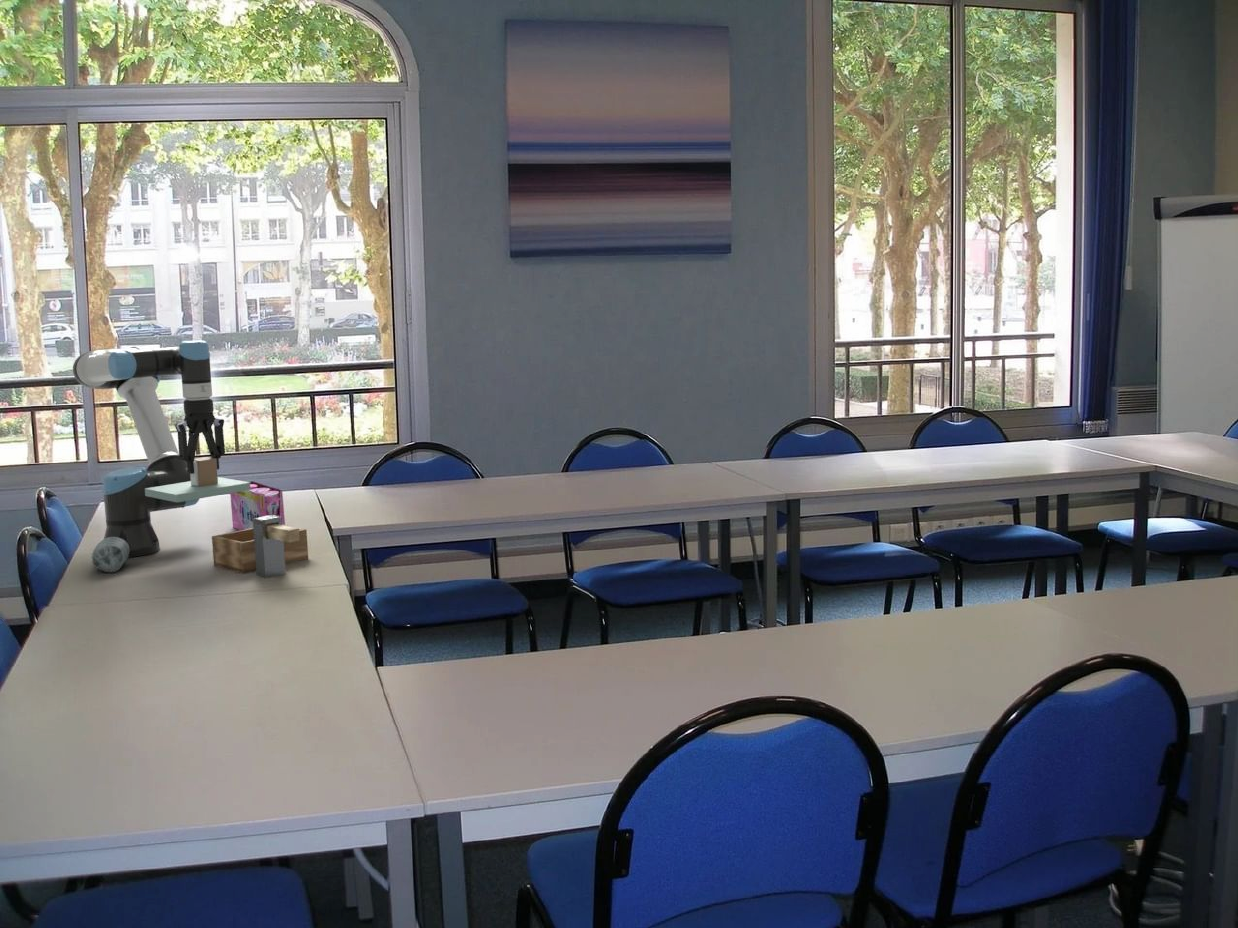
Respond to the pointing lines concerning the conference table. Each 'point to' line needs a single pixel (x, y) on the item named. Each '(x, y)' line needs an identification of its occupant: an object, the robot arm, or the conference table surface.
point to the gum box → (255, 505)
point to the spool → (110, 554)
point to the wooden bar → (282, 532)
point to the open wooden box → (251, 550)
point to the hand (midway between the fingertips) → (204, 483)
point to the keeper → (268, 548)
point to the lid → (206, 485)
